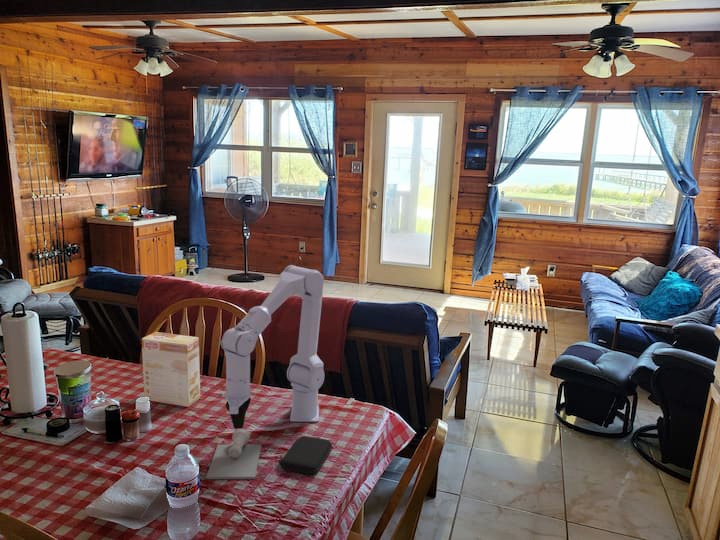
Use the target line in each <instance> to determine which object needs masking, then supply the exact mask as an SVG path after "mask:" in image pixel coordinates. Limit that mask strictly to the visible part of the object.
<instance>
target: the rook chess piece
mask: <svg viewBox="0 0 720 540" xmlns="http://www.w3.org/2000/svg"><path fill="white" fill-rule="evenodd" d="M231 437H232V443H231V445H232V446H231V447H230V448H229V454H230V455H229V456H230V457H231V456H232V458H233V459H234V457H236V458H238V457H239V456H240V455H241V454H242V447H243V446H244V445H248V443H249V441H250V439H251V434H250V433H249V431H248V430H247V429H245V428H242V429H236V430H234V431H233V434H232V436H231Z"/></svg>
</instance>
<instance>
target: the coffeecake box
mask: <svg viewBox="0 0 720 540" xmlns="http://www.w3.org/2000/svg"><path fill="white" fill-rule="evenodd" d="M199 339H200V338H199V337H198V336H191V335H184V334H183V335H182V334H174V333H168V332H159V331H154V332H152V333H150V334H148V335H146V336H144V337H142V338H141V352H142V353H141V354H142V355H141V356H142V371H143V372H142V374H143V378H142V379H143V392H144V393H143V395H144V396H147V397H149V399H150V401H151V402H156V403H157V402H158V403H162V404H170V405H175V406H180V407H187V408H189V407H191V406H192V405H193V404H194V403H195V402H197V401H198V400H199V399H200V398H201V377H200V375H201V370H200V369H201V368H200V367H201V366H200V340H199Z"/></svg>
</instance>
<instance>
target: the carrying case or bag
mask: <svg viewBox="0 0 720 540" xmlns="http://www.w3.org/2000/svg"><path fill="white" fill-rule="evenodd" d="M332 449H333V444H332V442H330V440H328V439H324V438H319V437H313V436H307V435H302V436H299V438H296V440H295V441H294V443H293V444H291V447H290V448H289V449H288V450H287V451H286V453H285V455H284V456H282V454H281V455H280V457H279V460H278V466H279V467H280V468H281V470H282V471H284V472H286V473H291V474H295V475H301V476H306V477H313V476H315V475H316V474H318V473H319V471H320V470H321V468H322V466H323V465H324V462H325V461H326V460H327V458H328V456H329V454H331V453H330V452H331V451H332Z"/></svg>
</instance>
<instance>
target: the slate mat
mask: <svg viewBox="0 0 720 540" xmlns="http://www.w3.org/2000/svg"><path fill="white" fill-rule="evenodd" d="M231 446H232V444H217V446H216V449H215V451H214V454H213V457H212V460H211V463H210V466H209V469H208V471H207V473H206V476H205V477H206V480H255V478H256V475H257V469H258V464H259V459H260V455H261V450H262V444H246V445H244V446H243V447H242V454H241V455H240V456H239V457H238V458H236V457H234V459H233V458H232V456H231V457H230V456H229V455H230V454H229V448H230V447H231Z"/></svg>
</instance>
